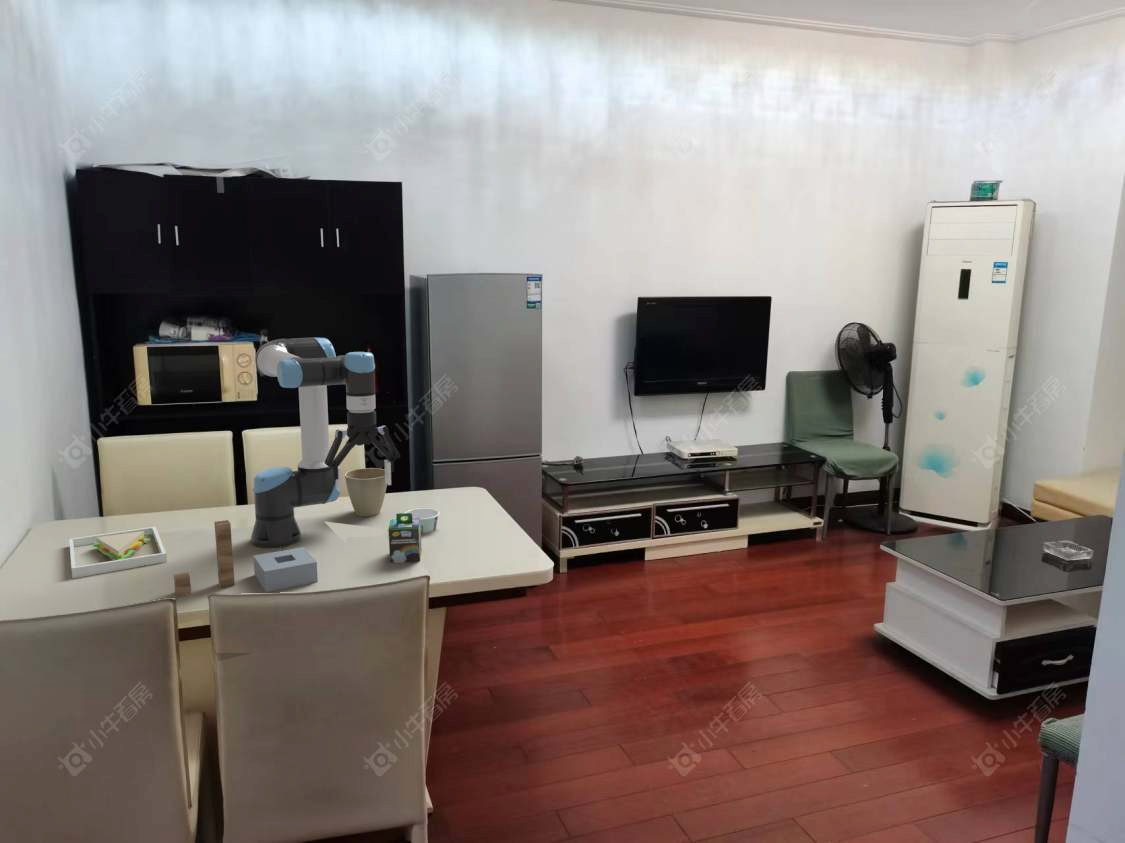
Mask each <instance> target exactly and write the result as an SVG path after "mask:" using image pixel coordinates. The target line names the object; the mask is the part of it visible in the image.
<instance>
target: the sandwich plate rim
mask: <svg viewBox="0 0 1125 843" xmlns="http://www.w3.org/2000/svg"><path fill="white" fill-rule="evenodd" d="M139 531H144V535H145V536H150V534H151V535H152V536H153V538H155V539H154V540H155V544H156V546H157V549H158V552H159V553H153V554H147V555H141V556H134V557H128V558H127V559H121V560H115V561H114V560H109V561H102V562H97V563H91V564H85V565H84V564H83V565H78V566H76V555H75V547H80V546H81V547H82V546H88V545H94V543H97V541H96V537H103V536H110V535H118V534H125V533H132V532H139ZM68 540H69V541H68V542H69V552H70V567H71V576H72V579H79V578H83V577H88V576H94V575H99V574H100V575H101V574H105V573H111V572H117V571H122V570H129V569H133V568H138V567H139V566H140V567H145V566H144V565H146V566H151V565H155V564H156V565H157V564H162V563H168V558H167V552H166V549H165V547H164V545H163V542H162V540H161V536H160V534H159V532H158V529H157V528H156V526H150V527H142V528H136V529H130V530H123V531H115V532H109V533H102V534H101V533H100V534H94V535H88V536H87V535H86V536H80V537H79V536H78V537H73V538H69V539H68ZM150 564H151V565H150Z"/></svg>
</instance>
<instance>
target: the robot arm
mask: <svg viewBox="0 0 1125 843" xmlns="http://www.w3.org/2000/svg"><path fill="white" fill-rule="evenodd" d="M254 360H255V361H254V362H255V366H256V367H257V369H258V370H259V371H260V372H261V373H262V375H265V376H268V377H273V378H274V377H275V378H276V377H277V382H278V383H279V386H280V387H282V388H286V389H289V388H290V389H296V388H298V400H299V420H300V421H299V422H300V440H301V441H300V442H301V460H300V461H299V462H298V463H297V470H294V471H293V470H292V468H291V467H288V466H278V467H273V468H268V469H265V470H262V471H261V472H259V473H257V474H256V475H255V476H254V477H253V487H252V488H253V489H252V491H253V496H254V497H253V498H254V499H253V500H254V513H255V521H254V525H253V528H252V532H251V536H250V544H251V545H252V546H254V547H256V548H261V549H277V548H279V549H280V548H285V547H288V546H291V545H292V546H293V545H294V544H297V543H298V542H299V541H301V539H302V533H301V530H300V527H299V525H298V522H297V520H296V517H295V508H301V507H307V506H314V505H325V504H328V503H333V502H335V501H337V500H338V499H339V498H340V495H341V493H343V478H342V476H343V475H342V474H343V473H342V467H340V465H341V464H342V462H344V459H346V457H347V456H348V454H349V453H350V452H351V450H352V449H354V447H355V446H358V447H359V446H363V445H364V446H365V445H366V446H367V445H370V444H371V443H372V445H374V446H375V448H376V449H378V451H380V453H381V454H382V455H383V456H384V457H385V458H386V459H384V470H385V483H386V484H387V486H392V473H394V471H395V464H394V463H395V461H396V460H397V459H400V458H401V454H400V452H399V450H398V448H397V446H396V445H395V443H394V441H393V439H392V438H391V435H390V432H389V427H388V426H386V425H381V426H378V427H377V412H376V410H375V409H376V373H375V372H376V370H375V369H376V364H375V357H374V354H373V353H372V352H369V351H367V352H365V351H353V352H352V351H351V352H348V353H347V352H346V354H345V355H338V356H337V355H336V352H335V348H334V346H333V344H332V342H331V341H330V340H329V339H328V338H326V337H299V338H278V339H274V340H270V341H268V342H265V343H264V344H263V345H262V346H260V347H259V348H258V350H257V352H256V353H255V359H254ZM335 385H336V386H337V385H345V392H346V393H345V394H346V399H345V400H346V409H347V410H348V411H347V412H346V419H347V420H346V421H347V422H346V425H347V427H346V428H347V429H346V430H341V429H336V430H335V435H334V440H333V441H332V444H331V447H330V432H329V412H328V410H329V409H328V387H327V386H335ZM378 433H379V434H381V436H382V438H383V439H384V441H385V443H386V444H387V446H388V449H389V450H390V452H391V453H392V454H391V453H390V452H389V451H388V450H387V449H386V448H385V447H384V446H383V445H382V443H380V441H379V440H378V439H377V438H376V436H377V435H378ZM346 436H347V437H348V439H347V440H346V442H345V444H344V446H343V447H342V448H341V449H340V446H341V444H342V442H343V439H345V437H346ZM339 449H340V451H339ZM338 451H339V452H338Z"/></svg>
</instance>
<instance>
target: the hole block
mask: <svg viewBox="0 0 1125 843" xmlns="http://www.w3.org/2000/svg"><path fill="white" fill-rule="evenodd" d="M253 567H254V569H253V571H254V576H255V577H256V579H257V581H258V583H259V584H260V586H261V588H262V589H263V590H264V592H265V593H270V592H274V591H279V590H284V588H285V589H288V588H289V589H290V588H294V587H299V586H304V585H308V584H309V585H310V584H314V583H317V582H319V580H318V577H319V576H318V562H317V560H315V558H314V557H313V556H312V555H311V554H310V553H309V552H308V551H307V550H306V548H305V547H303V546H302V547H296V548H291V549H286V550H279V551H273V552H267V553H261V554H255V555H253Z"/></svg>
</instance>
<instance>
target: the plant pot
mask: <svg viewBox="0 0 1125 843" xmlns="http://www.w3.org/2000/svg"><path fill="white" fill-rule="evenodd" d="M344 479H345V485H346V489H347V491H348V496H349V500H350V503H351V505H352V508H353V510H354V513H355V515H356V516H358V517H363V518H364V517H374V516H376V515H379V514H380V513H381V510H382V508H383V507H382V506H383V504H384V500H385V496H386V491H387V487H388V485H387V484H386V483H385V469H383V468H375V467H370V468H369V467H368V468H367V467H366V468H364V467H363V468H356V469H352V470H348V471H346V472H345V473H344Z"/></svg>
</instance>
